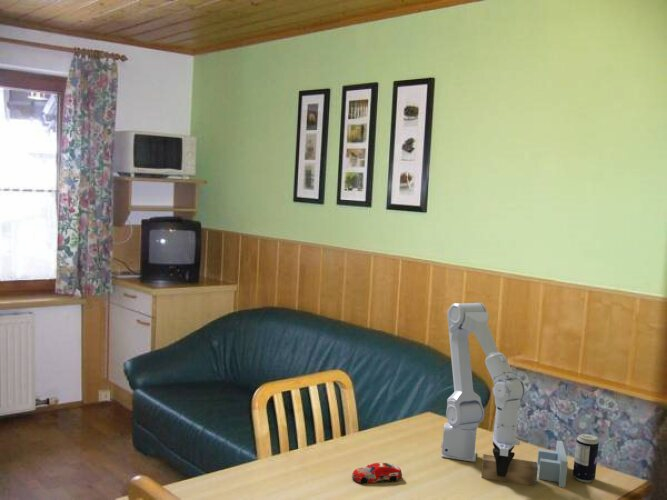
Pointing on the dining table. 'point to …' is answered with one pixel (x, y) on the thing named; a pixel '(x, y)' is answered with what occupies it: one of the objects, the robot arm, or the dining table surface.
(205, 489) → the dining table surface
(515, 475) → the brown wooden block
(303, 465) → the dining table surface
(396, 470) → the race car
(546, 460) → the pale blue bench
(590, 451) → the beverage can
